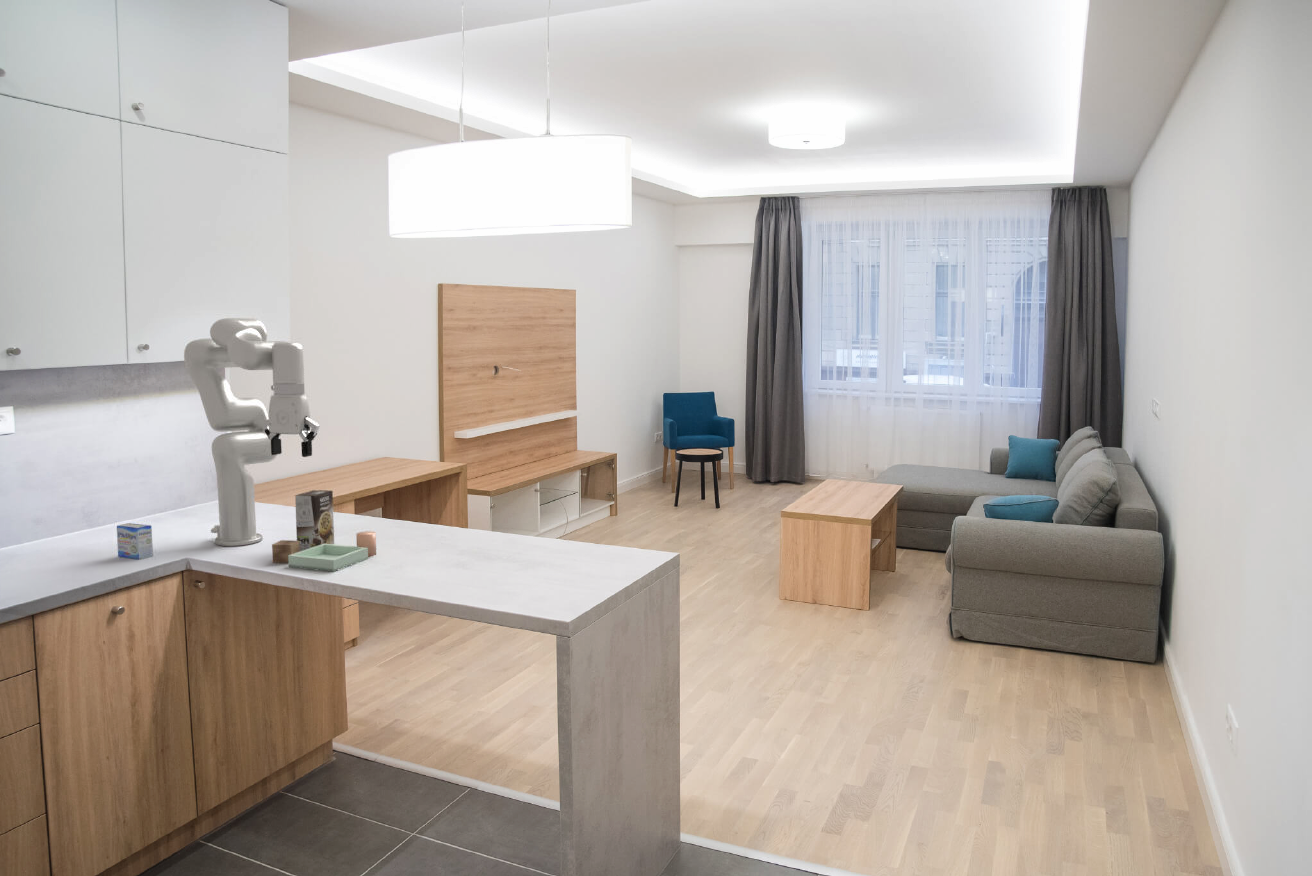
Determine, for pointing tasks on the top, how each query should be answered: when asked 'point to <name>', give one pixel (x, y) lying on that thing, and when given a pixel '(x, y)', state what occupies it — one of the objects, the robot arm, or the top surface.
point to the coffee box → (314, 518)
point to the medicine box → (134, 541)
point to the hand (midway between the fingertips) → (291, 455)
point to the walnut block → (284, 550)
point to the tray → (328, 557)
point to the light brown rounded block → (367, 541)
